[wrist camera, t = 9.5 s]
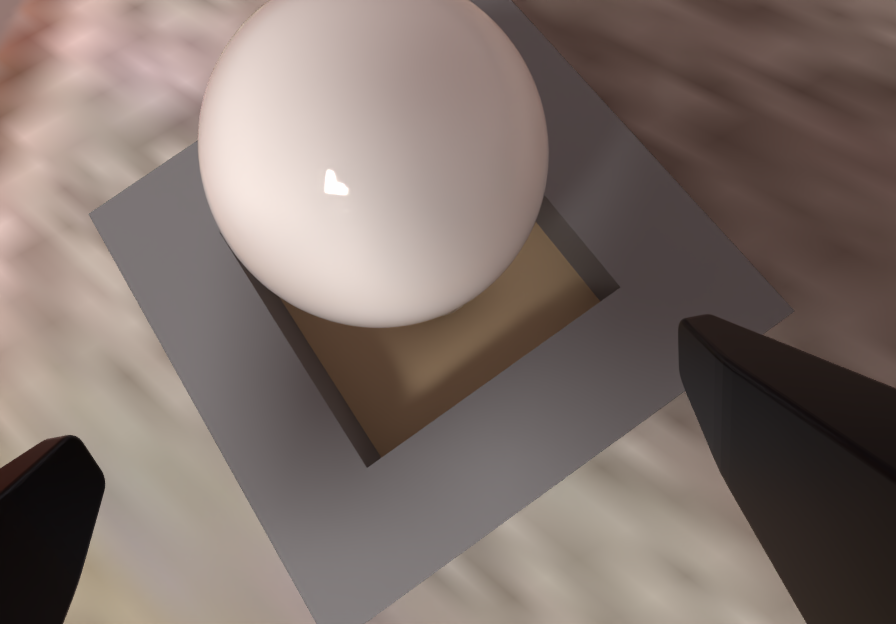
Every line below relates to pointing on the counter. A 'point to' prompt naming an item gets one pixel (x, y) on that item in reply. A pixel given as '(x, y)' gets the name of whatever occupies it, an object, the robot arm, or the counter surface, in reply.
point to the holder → (438, 354)
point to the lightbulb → (373, 155)
